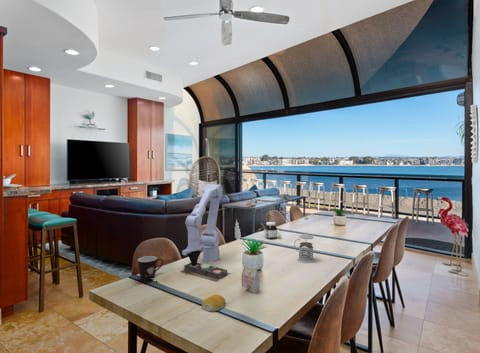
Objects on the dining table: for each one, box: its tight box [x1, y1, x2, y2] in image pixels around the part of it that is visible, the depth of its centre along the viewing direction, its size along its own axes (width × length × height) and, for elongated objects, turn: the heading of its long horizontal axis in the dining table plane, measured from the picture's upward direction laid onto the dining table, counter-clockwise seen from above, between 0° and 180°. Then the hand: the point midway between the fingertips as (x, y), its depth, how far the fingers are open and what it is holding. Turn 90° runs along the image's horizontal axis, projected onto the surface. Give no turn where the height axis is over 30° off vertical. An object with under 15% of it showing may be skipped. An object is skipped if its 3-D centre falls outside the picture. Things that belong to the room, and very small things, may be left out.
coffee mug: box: [137, 255, 164, 283], centre depth 138 cm, size 12×9×10 cm
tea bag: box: [241, 265, 260, 294], centre depth 126 cm, size 4×7×10 cm, turn 51°
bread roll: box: [201, 294, 227, 312], centre depth 112 cm, size 8×9×4 cm
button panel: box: [179, 262, 232, 283], centre depth 143 cm, size 12×23×4 cm, turn 57°
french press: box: [293, 216, 315, 264], centre depth 165 cm, size 10×12×25 cm
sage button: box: [201, 263, 211, 270], centre depth 143 cm, size 4×4×2 cm
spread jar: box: [263, 221, 282, 240], centre depth 218 cm, size 12×11×12 cm
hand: (193, 265), depth 147 cm, fingers closed, pressing on cream button
